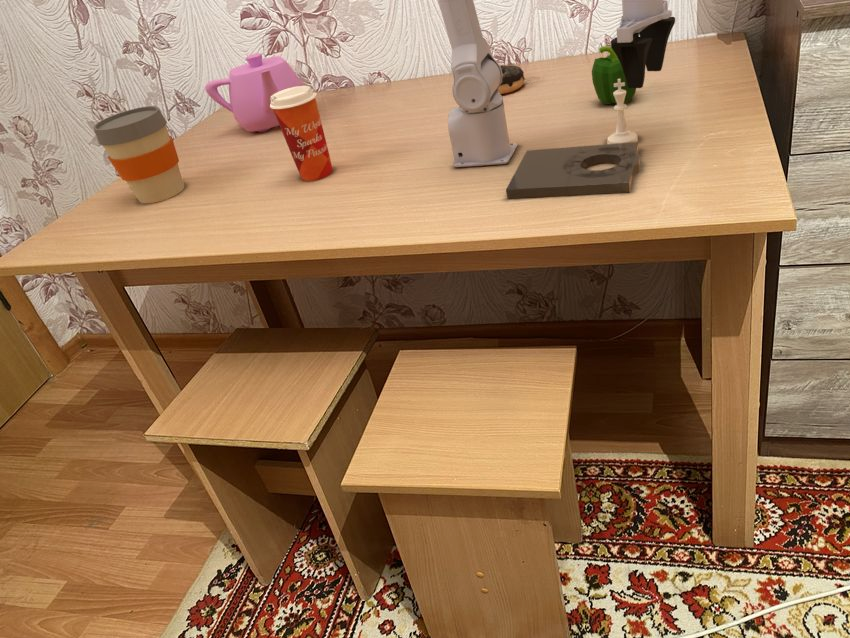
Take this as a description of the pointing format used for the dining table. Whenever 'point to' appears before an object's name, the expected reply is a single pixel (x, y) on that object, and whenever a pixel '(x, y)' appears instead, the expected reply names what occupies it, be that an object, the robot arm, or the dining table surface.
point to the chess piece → (621, 119)
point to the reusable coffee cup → (142, 152)
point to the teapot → (255, 90)
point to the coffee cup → (303, 131)
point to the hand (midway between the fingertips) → (645, 78)
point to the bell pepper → (609, 77)
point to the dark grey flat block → (575, 171)
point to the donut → (511, 79)
